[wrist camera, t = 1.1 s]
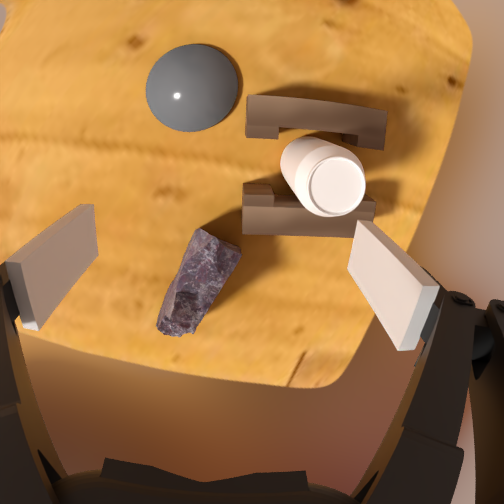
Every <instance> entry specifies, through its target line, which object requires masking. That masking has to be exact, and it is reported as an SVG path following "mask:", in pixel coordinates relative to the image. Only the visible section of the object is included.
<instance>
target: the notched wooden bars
mask: <svg viewBox="0 0 504 504" xmlns="http://www.w3.org/2000/svg"><path fill="white" fill-rule="evenodd" d="M386 123H387V111H384V110H379V109H373V108H368V107H362V106H356V105H350V104H343V103H336V102H329V101H321V100H312V99H303V98H292V97H281V96H266V95H248V96H247V104H246V125H245V135H246V138H263V139H278V135H279V127H285V128H298V129H309V130H319V131H328V132H337V133H343V136H342V142H345V143H348V144H350V145H353V146H356V147H362V148H370V149H377V150H383V151H384V142H385V133H386ZM375 207H376V201H374V200H373V199H372V198H370V197H369V196H367V195H366V194H365V193H364V196H363V199H362V201H361V202H360V204H359V205H358V206H357V207H356V208H355V209H354V210H353V211H351V212H349V213H347V214H345V215H342V216H334V217H323V216H319V215H316V214H314V213H312V212H310V211H309V210H307V209H306V208H305V207H304V206H303V205H302V203H301V202H300V200H299V199H298V197H297V196H293V195H274V193H273V191H272V189H271V187H270V184H251V183H243V194H242V234H252V235H287V236H317V237H345V238H354V235H355V230H356V225H357V220H364V221H371V222H373V219H374V213H375Z"/></svg>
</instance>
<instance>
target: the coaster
mask: <svg viewBox="0 0 504 504" xmlns="http://www.w3.org/2000/svg"><path fill="white" fill-rule="evenodd" d="M237 91H238V80H237V75H236V72H235V69H234V67H233V65H232V64H231V62H230V61H229V60H228V58H227V57H226V56H225V55H223V54H222V53H221V52H219V51H218V50H216V49H214V48H212V47H209V46H205V45H199V44H191V45H184V46H180V47H177V48H175V49H173V50H171V51H169V52H167V53H166V54H164V55H163V56H162V57H161V58H160V59H159V60H158V61H157V62H156V63H155V65H154V66H153V68H152V70H151V71H150V74H149V76H148V79H147V83H146V97H147V102H148V105H149V107H150V109H151V111H152V113H153V114H154V116H155V117H156V118H157V119H158V120H159V121H160V122H161V123H163V124H164V125H166V126H168V127H170V128H172V129H175V130H178V131H183V132H195V131H200V130H204V129H207V128H209V127H211V126H213V125H215V124H217V123H218V122H219V121H221V120H222V119H223V118H224V117H225V116H226V115H227V114H228V113H229V111H230V110H231V108H232V106H233V105H234V102H235V100H236V96H237Z"/></svg>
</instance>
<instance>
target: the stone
mask: <svg viewBox="0 0 504 504" xmlns="http://www.w3.org/2000/svg"><path fill="white" fill-rule="evenodd" d="M241 256H242V254H241V249H240V248H239V247H238V246H236V245H232V244H230V243H228V242H226V241H222V240H220V239H219V238H216V237H215V236H212V235H210V234H208V233H207V232H206V231H204V230H202V229H200V228H199V229H197V230H195V232H194V234H193V235H192V238H191V240H190V242H189V244H188V247H187V249H186V252H185V254H184V256H183V260H182V263H181V266H180V269H179V271H178V273H177V275H176V277H175V279H174V280H173V281H172V283H171V284H170V286H169V288H168V290H167V293H166V295H165V298H164V301H163V304H162V307H161V309H160V312H159V315H158V320H157V324H156V327H157V329H158V330H159V331H160V332H162V333H163V334H164V335H170V336H172V337H173V336H178V337H181V336H182V335H183V334H185V333H189V332H190V333H192V334H194V332H195V331H196V328H197V326H198V324H199V323H200V322H201V320H202V319H203V317H204V315H205V314H206V313H207V311H208V309H209V307H210V305H211V304H212V303H213V301H214V300H215V298H216V296H217V295H218V293H219V292H220V290H221V288H222V287H223V285H224V284H225V282H226V280H227V279H228V277H229V276H230V275H231V273H232V272H233V270H234V268H235V267H236V265H237V263H238V261H239V260H240V258H241Z"/></svg>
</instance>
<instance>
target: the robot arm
mask: <svg viewBox="0 0 504 504" xmlns="http://www.w3.org/2000/svg"><path fill="white" fill-rule="evenodd" d="M97 256H98V247H97V238H96V227H95V215H94V204H80V205H79V206H77V207H76V208H74V209H73V210H72V211H70V212H69V213H67V214H66V215H64V216H63V217H62V218H60V219H59V220H57V221H56V222H55V223H53V224H52V225H51V226H49V227H48V228H46V229H45V230H44V231H42V232H41V233H40V234H38V235H37V236H36V237H35V238H33V239H32V240H31V241H29V242H28V243H27V244H25V245H24V246H23V247H22V248H20V249H19V250H18V251H17V252H15V253H14V254H13V255H12V256H11V257H9V258H8V259H7V260H6V261H5V262H4V263H2V264H1V265H0V504H450V503H451V501H452V497H453V494H454V491H455V488H456V485H457V481H458V477H459V474H460V470H461V467H462V463H463V458H464V451H463V449H462V448H459V447H457V446H456V444H457V440H458V436H459V432H460V427H461V423H462V418H463V413H464V408H465V402H466V397H467V390H468V387H469V394H470V402H471V410H472V419H473V430H474V443H475V444H474V445H475V470H476V493H475V504H504V301H501V300H496V299H493V300H491V301H490V302H489V305H488V307H487V309H486V310H482V309H477V308H475V303H474V301H473V300H472V299H471V298H469V297H468V296H467V295H465V294H463V293H460V292H456V291H447V290H445V288H444V287H443V286H442V285H441V284H440V283H439V282H438V281H436V280H435V278H434V277H433V276H431V274H430V273H429V272H428V271H427V270H425V269H424V268H422V267H421V266H419V265H418V264H417V263H416V262H415V261H414V260H413V259H412V258H411V257H410V256H409V255H408V254H407V253H406V252H404V251H403V250H402V249H401V248H400V247H399V246H398V245H397V244H396V243H395V242H394V241H393V240H392V239H390V238H389V237H388V236H387V235H386V234H385V233H384V232H383V231H382V230H380V229H379V228H378V227H377V226H376V225H375V224H374V223H373V222H371V221H364V220H357V225H356V230H355V235H354V240H353V245H352V250H351V254H350V259H349V263H348V268H347V270H348V271H349V273H350V274H351V276H352V277H353V279H354V281H355V282H356V284H357V285H358V287H359V288H360V290H361V291H362V293H363V295H364V296H365V298H366V299H367V301H368V302H369V304H370V306H371V307H372V309H373V310H374V312H375V314H376V315H377V317H378V318H379V320H380V322H381V323H382V325H383V327H384V328H385V330H386V332H387V333H388V335H389V337H390V338H391V340H392V342H393V343H394V345H395V347H396V348H397V350H398V351H404V350H414V349H415V347H416V345H417V343H418V340H419V338H420V336H421V338H422V339H423V341H424V342H425V344H424V346H423V348H422V350H421V352H420V355H419V357H418V359H417V361H416V363H415V365H414V366H415V369H414V372H413V374H412V377H411V379H410V382H409V384H408V387H407V389H406V391H405V394H404V396H403V398H402V401H401V403H400V405H399V407H398V410H397V412H396V414H395V416H394V418H393V420H392V422H391V425H390V427H389V429H388V431H387V433H386V435H385V437H384V439H383V441H382V443H381V445H380V447H379V448H378V450H377V452H376V454H375V456H374V458H373V459H372V461H371V463H370V465H369V467H368V468H367V470H366V472H365V474H364V475H363V477H362V479H361V480H360V482H359V484H358V485H357V487H356V488H355V490H354V491H353V492H352V494H351V495H350V496H348V495H347V494H345V493H342V492H340V491H338V490H335V489H332V488H329V487H326V486H322V485H318V484H314V483H308V482H307V476H306V471H293V472H271V473H253V474H249V475H244V476H239V477H234V478H229V479H223V480H217V481H211V482H199V481H195V480H191V479H188V478H185V477H182V476H178V475H176V474H173V473H170V472H167V471H164V470H161V469H159V468H156V467H153V466H148V465H141V464H136V463H130V462H124V461H119V460H114V459H109V458H105V460H104V464H103V468H102V470H91V471H84V472H80V473H76V474H73V475H70V476H68V474H67V473H66V471H65V469H64V467H63V465H62V463H61V461H60V459H59V457H58V454H57V452H56V450H55V448H54V445H53V443H52V440H51V438H50V436H49V433H48V431H47V428H46V425H45V423H44V420H43V417H42V415H41V412H40V409H39V406H38V403H37V401H36V398H35V394H34V391H33V388H32V385H31V382H30V378H29V375H28V371H27V368H26V364H25V360H24V356H23V352H22V348H21V344H20V340H19V335H18V330H17V327H16V324H15V321H14V320H15V319H16V318H17V317H18V316H19V315H20V318H21V321H22V324H23V327H24V328H27V329H32V330H36V331H39V330H40V329H41V327H42V326H43V325H44V323H45V322H46V321H47V319H48V318H49V317H50V315H51V314H52V312H53V311H54V310H55V309H56V307H57V306H58V305H59V303H60V302H61V301H62V299H63V298H64V297H65V295H66V294H67V293H68V292H69V290H70V289H71V288H72V287H73V285H74V284H75V283H76V282H77V280H78V279H79V278H80V277H81V275H82V274H83V273H84V272H85V271H86V269H87V268H88V267H89V266H90V264H91V263H92V262H93V261H94V260H95V259H96V257H97Z"/></svg>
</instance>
